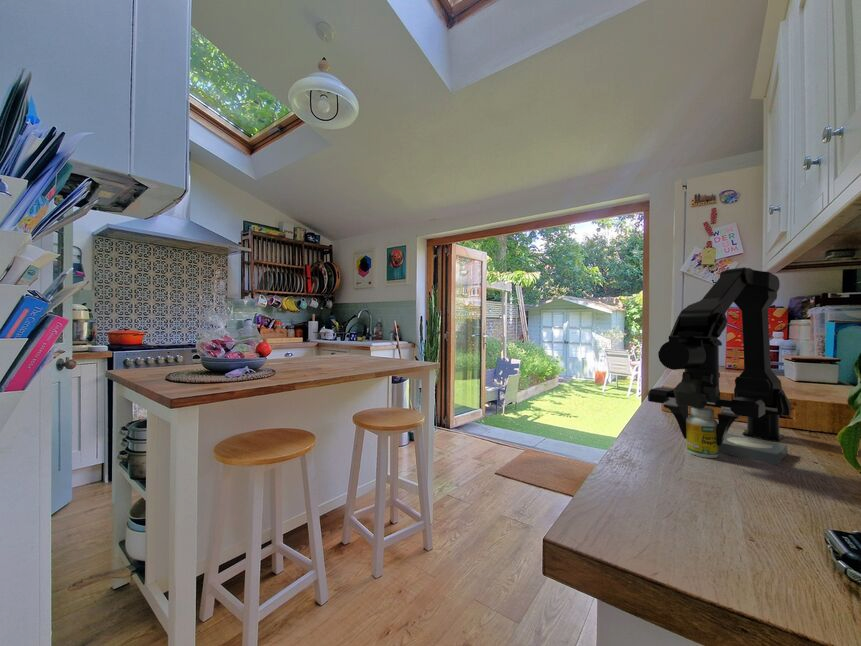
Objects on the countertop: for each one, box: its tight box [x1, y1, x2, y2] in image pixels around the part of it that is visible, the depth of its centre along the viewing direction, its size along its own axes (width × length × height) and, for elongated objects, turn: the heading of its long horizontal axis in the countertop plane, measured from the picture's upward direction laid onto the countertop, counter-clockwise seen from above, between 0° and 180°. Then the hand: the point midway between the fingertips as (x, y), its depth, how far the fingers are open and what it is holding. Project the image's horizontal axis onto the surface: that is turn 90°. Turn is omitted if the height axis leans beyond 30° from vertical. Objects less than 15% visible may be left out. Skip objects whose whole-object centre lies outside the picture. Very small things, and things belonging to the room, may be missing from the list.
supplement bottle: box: [685, 406, 720, 459], centre depth 73 cm, size 5×5×10 cm
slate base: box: [719, 432, 788, 466], centre depth 74 cm, size 10×10×2 cm
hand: (702, 441), depth 73 cm, fingers closed on supplement bottle, 5 cm apart
